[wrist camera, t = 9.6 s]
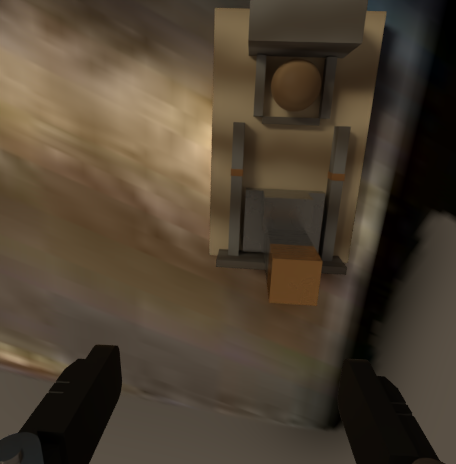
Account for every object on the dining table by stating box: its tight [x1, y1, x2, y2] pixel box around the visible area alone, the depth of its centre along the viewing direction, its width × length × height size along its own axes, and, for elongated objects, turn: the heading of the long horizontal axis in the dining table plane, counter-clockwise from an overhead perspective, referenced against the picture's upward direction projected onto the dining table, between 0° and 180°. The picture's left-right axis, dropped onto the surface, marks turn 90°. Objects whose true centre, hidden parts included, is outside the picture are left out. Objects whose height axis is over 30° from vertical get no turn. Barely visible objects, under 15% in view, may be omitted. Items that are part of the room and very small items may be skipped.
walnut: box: [271, 58, 321, 112], centre depth 27 cm, size 4×4×4 cm
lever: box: [243, 188, 325, 306], centre depth 27 cm, size 6×7×11 cm
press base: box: [209, 0, 386, 275], centre depth 29 cm, size 22×14×7 cm, turn 178°
